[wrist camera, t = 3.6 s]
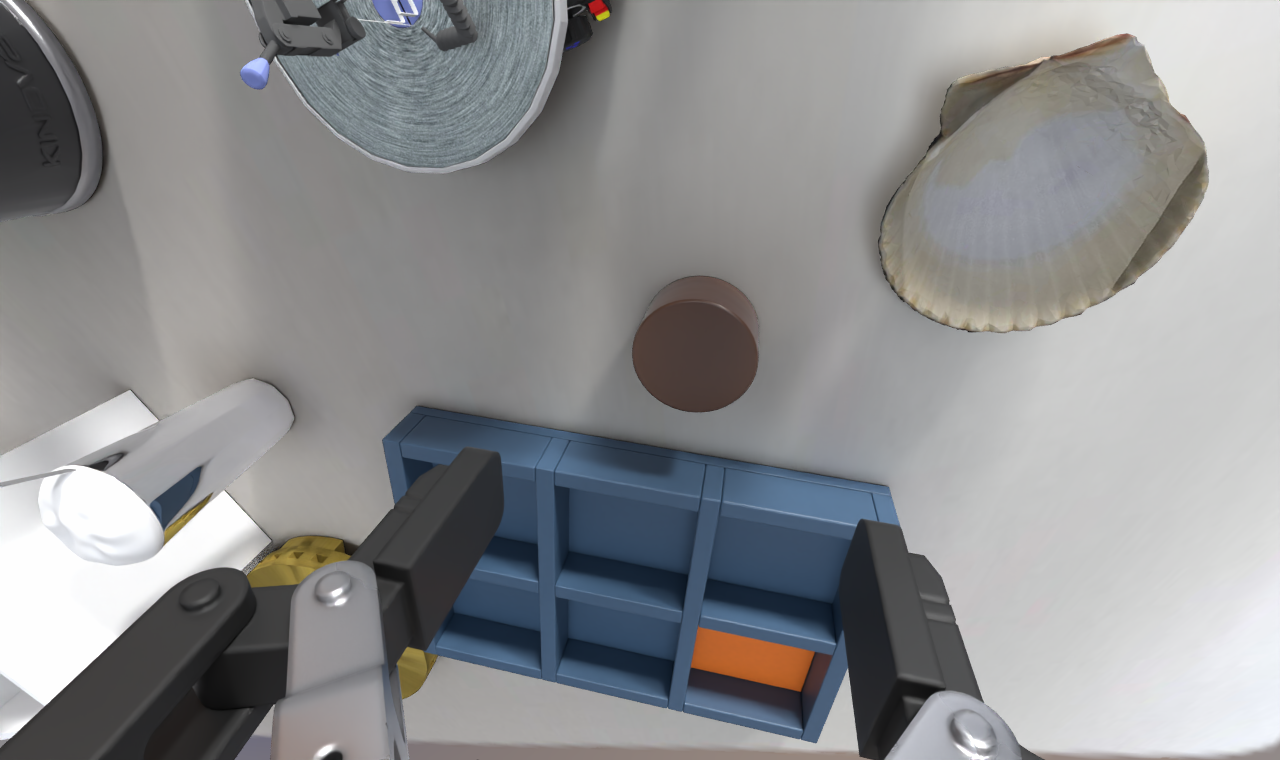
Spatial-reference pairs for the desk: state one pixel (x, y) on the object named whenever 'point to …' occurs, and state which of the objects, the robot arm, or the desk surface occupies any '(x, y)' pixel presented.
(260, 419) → the milkshake
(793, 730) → the grid
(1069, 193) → the seashell
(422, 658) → the gold notched disc
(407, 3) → the scroll saw
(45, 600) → the white open box
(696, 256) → the desk surface
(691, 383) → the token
